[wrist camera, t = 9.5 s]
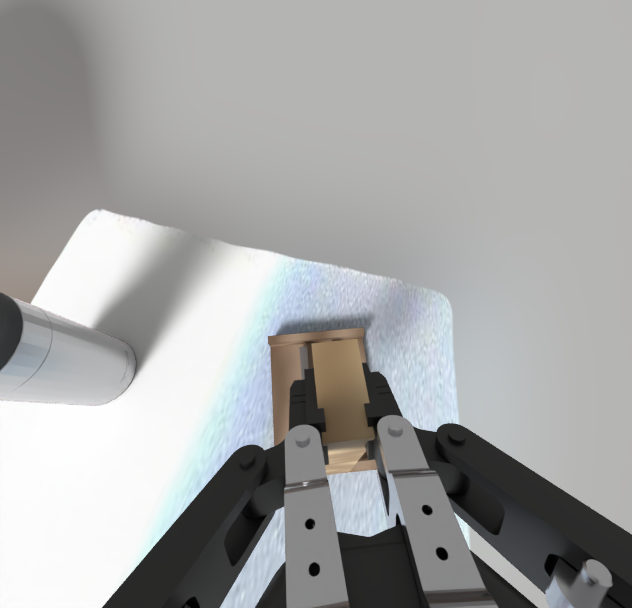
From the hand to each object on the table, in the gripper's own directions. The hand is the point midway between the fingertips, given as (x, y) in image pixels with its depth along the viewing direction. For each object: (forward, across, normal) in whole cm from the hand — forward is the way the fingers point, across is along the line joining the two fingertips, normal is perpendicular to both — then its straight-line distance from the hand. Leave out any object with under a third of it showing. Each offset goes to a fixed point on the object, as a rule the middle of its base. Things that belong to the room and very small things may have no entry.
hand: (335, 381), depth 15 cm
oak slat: (+6, 0, +12) cm, 14 cm away
